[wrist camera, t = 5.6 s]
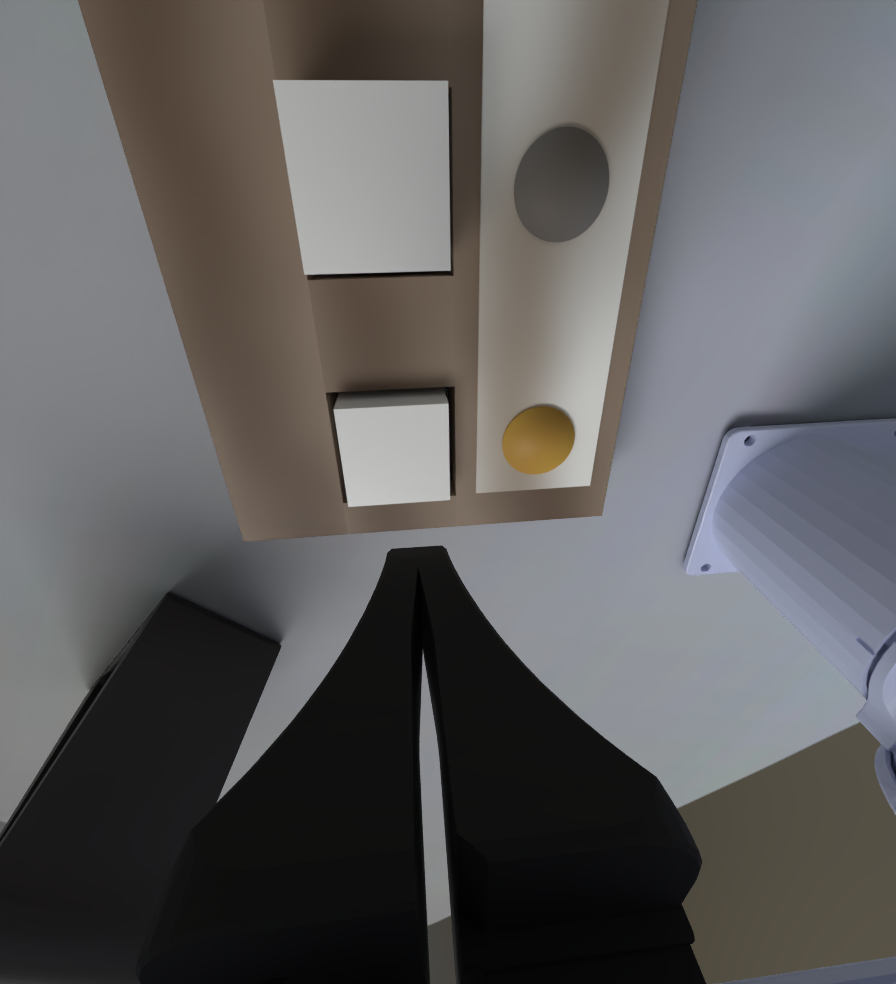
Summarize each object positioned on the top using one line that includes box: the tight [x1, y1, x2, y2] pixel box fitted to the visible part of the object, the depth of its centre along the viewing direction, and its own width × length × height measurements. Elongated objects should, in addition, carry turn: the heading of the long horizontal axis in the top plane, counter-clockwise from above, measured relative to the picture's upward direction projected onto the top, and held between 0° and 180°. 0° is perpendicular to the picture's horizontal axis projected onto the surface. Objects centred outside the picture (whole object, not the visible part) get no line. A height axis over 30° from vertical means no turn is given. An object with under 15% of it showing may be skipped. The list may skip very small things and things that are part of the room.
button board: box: [78, 0, 698, 542], centre depth 13 cm, size 14×22×3 cm, turn 1°
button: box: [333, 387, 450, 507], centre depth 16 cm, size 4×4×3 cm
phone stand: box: [0, 593, 281, 984], centre depth 19 cm, size 9×6×12 cm, turn 137°
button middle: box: [273, 80, 451, 275], centre depth 12 cm, size 4×4×3 cm
